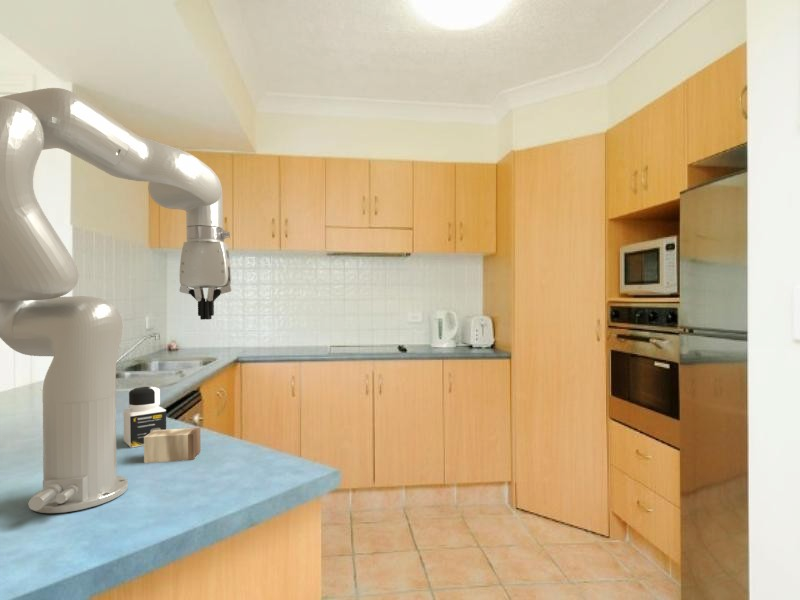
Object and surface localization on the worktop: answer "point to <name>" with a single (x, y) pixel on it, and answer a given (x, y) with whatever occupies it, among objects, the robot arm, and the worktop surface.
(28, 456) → the worktop surface
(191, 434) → the birch block
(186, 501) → the worktop surface
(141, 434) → the medicine bottle
